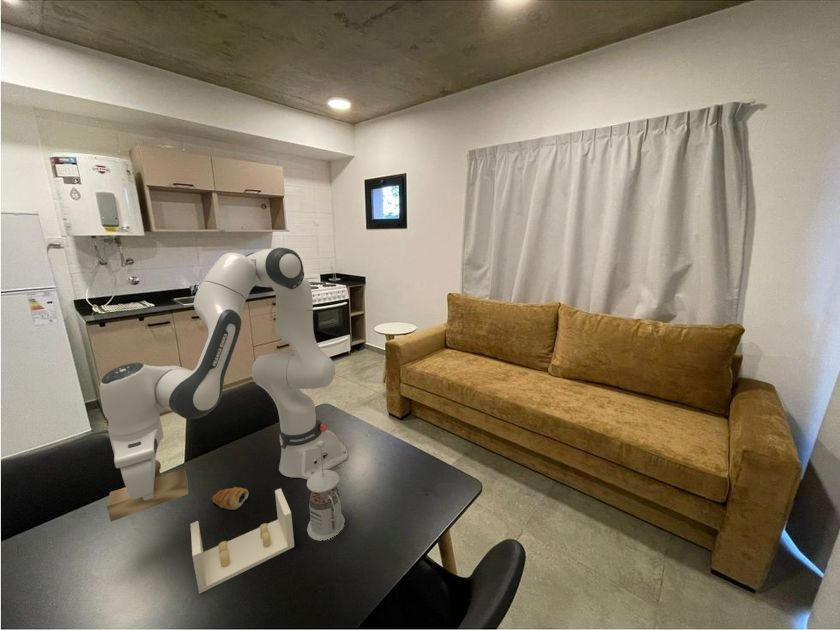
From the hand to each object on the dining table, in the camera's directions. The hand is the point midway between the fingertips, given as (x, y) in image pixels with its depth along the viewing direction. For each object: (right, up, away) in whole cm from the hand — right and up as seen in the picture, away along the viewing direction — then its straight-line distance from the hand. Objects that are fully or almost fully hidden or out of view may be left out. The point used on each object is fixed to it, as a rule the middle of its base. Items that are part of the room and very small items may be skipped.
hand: (149, 488), depth 79 cm
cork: (-16, -13, +22) cm, 30 cm away
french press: (+38, -16, +11) cm, 43 cm away
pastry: (+8, -14, +20) cm, 26 cm away
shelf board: (0, -3, +1) cm, 3 cm away
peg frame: (+21, -18, +4) cm, 27 cm away
